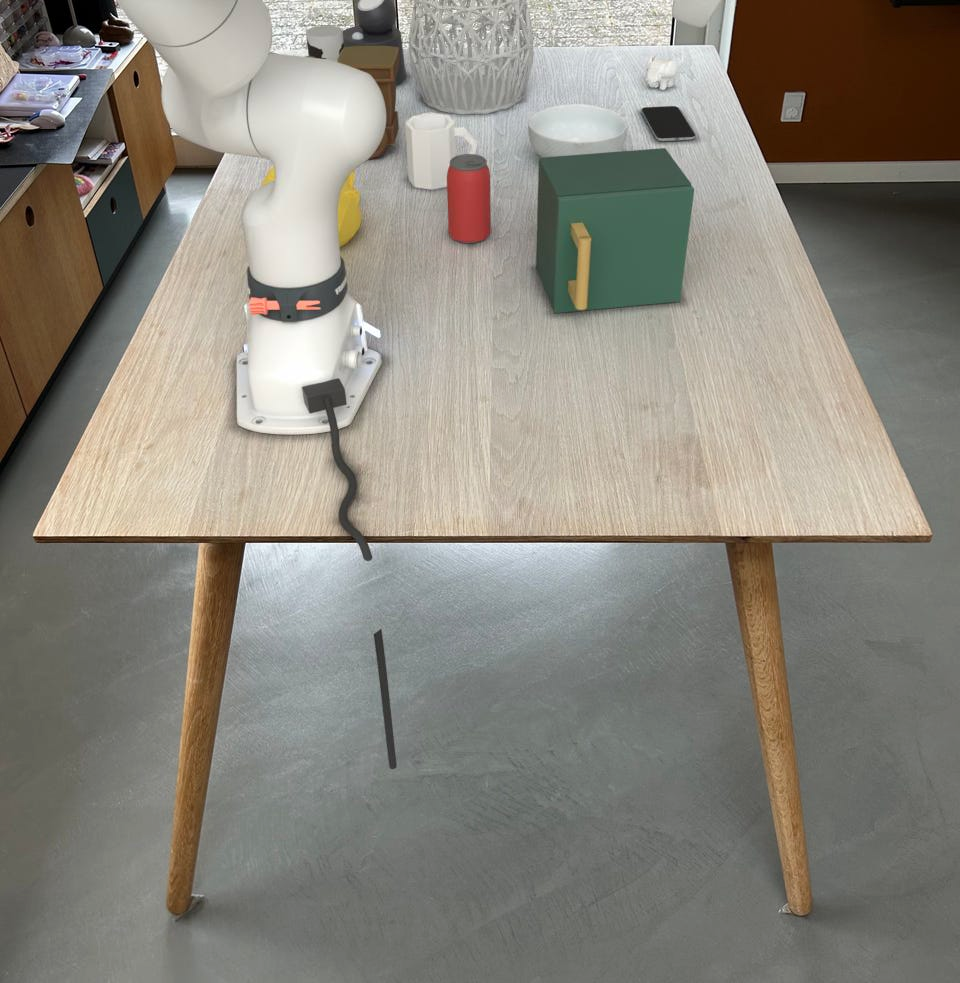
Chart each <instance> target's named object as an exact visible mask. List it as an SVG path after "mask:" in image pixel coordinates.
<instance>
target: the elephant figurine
mask: <svg viewBox="0 0 960 983" xmlns="http://www.w3.org/2000/svg"><path fill="white" fill-rule="evenodd" d="M678 68H679V67H678V64H677V62H676V61H675V60H666V59H663V58H656V54H652V55H651V56H650V57H649V59H648V60H647V61H646V64H645V70H646V71H647V74H646V77H645V81H646V82H647V83H648V86H649V87H650V88H655V89H658V88H659V90H660V91H664V90H666V89H667V88H672V87H673V85H674V82H675V79H676V76H677V74H678Z"/></svg>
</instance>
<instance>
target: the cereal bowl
mask: <svg viewBox="0 0 960 983" xmlns="http://www.w3.org/2000/svg"><path fill="white" fill-rule="evenodd" d="M527 127H528V128H527V129H528V138H529V143H530V145H531V147H532V149H533V150H534V152H535V153H536V154H537V155H538V156H539V158H542V157H555V156H568V155H581V154H594V153H607V152H620V151H622V149H623V147H624V144H625V141H626V136H627V131H628V123H627V121H626V119H625V118H624V117H623V116H622V115H621V114H620V113H618V112H616V111H615V110H614V111H613V110H612V109H609V108H607V107H603V106H598V105H594V104H586V103H585V104H584V103H566V104H558V105H553V106H548V107H546V108H542V109H539V110H538V111H537V112H535V113H533V114H532V115H531V117H530V118H529V119H528V124H527Z"/></svg>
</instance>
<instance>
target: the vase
mask: <svg viewBox="0 0 960 983" xmlns="http://www.w3.org/2000/svg"><path fill="white" fill-rule="evenodd" d="M433 1H434V3H433V2H431V1H428V0H414V2H413V7H412V13H411V19H410V26H409V35H408V56H409V62H410V63H409V65H410V69H411V72H412V75H413V78H414V81H415V85H416V87H417V90H418V91H419V93H420V95H421V96H422V97H421V98H422V101H423V102H424V103H425V104H426V105H427V107H430V108H432V109H435V110H437V111H440V112H443V113H450V114H455V115H457V114H458V115H488V114H492V113H496V112H500V111H504V110H508V109H510V108H511V107H513V106H515V105H516V104H518V103H519V102H521V101H522V97H523V93H524V91H525V89H526V87H527V84H528V82H529V80H530V76H531V71H532V68H533V64H534V54H535V52H534V34H533V24H532V20H531V16H530V11H529V7H528V0H509V1H508V0H492V1H491V0H486V1H487V4H488V5H487V4H486V3H485V2H484V0H457V1H458V3H459V6H458V5H457V3H456V2H455V1H454V0H433ZM475 5H477V6H475ZM484 10H485V11H484ZM453 11H455V12H453ZM500 11H503V12H502V13H501V14H500ZM436 12H437V15H435V14H436ZM444 12H445V13H447V14H448V15H446V16H445V17H443V15H444ZM428 14H429V15H430V17H428ZM472 14H473V15H476V16H474V17H473V18H471V17H472ZM499 15H500V16H499ZM521 16H522V17H521ZM505 17H507V20H505V19H504V18H505ZM423 18H424V21H423ZM428 18H429V20H428ZM522 18H523V19H522ZM474 23H481V24H480V26H479V27H478V28H477V29H476V30H475V29H474V27H472V25H473V24H474ZM444 24H446V25H451V27H450V28H449V29H448V30H447V31H446V28H445V27H444ZM502 24H504V25H505V26H507V27H509V28H508V30H506V29H505V28H504V26H503V25H502ZM459 26H460V27H461V28H462V29H461V30H460V31H459V32H458V33H457V27H459ZM487 27H490V28H491V29H490V30H489V32H488V33H487ZM465 38H466V43H467V56H464V44H465ZM453 39H454V40H453ZM482 39H483V40H482ZM515 39H516V40H515ZM489 41H490V44H489V45H490V46H489V49H488V43H489ZM437 43H438V49H439V53H438V52H437ZM495 43H496V44H495ZM502 43H503V46H504V50H503V52H502V53H500V47H501V45H502ZM446 45H447V47H448V51H447V47H446ZM495 45H496V47H495ZM472 47H473V48H472ZM494 48H495V49H494ZM455 49H456V50H455ZM494 50H495V54H494ZM473 51H474V54H475V57H474V56H473ZM522 55H523V57H522ZM500 58H502V61H501V65H500V66H501V67H500V68H499V63H500ZM424 60H425V62H424ZM439 60H440V63H441V65H440V63H439ZM493 61H494V62H493ZM464 62H467V63H468V70H469V71H468V70H467V69H466V68H465V67H464ZM474 63H476V64H475V65H474ZM483 66H484V67H485V68H484V74H483V69H482V67H483ZM454 67H455V68H454Z"/></svg>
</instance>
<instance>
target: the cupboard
mask: <svg viewBox="0 0 960 983" xmlns="http://www.w3.org/2000/svg"><path fill="white" fill-rule="evenodd" d="M537 170H538V172H537V211H536V212H537V215H536V248H535V249H536V250H535V252H536V253H535V254H536V255H535V260H536V261H535V270H536V272H537V274H538V277H539V279H540V282H541V284H542V286H543V288H544V291H545V293H546V294H545V295H546V296H547V298H548V301H549V304H550V306H551V309H553V305H554V279H555V252H556V226H557V200H558V197H563V196H575V195H588V194H600V193H612V192H624V191H637V190H649V189H661V188H674V187H686V186H692V183H691V181H690V180H689V178H688V177H687V175H686V174H685V172H684V171H682V168H680V166H679V164H678V163H677V162H676V161H675V159H674V158H673V157H672V155H671V154H670V153H669V151H668V150H667V149H666V148H665V147H662V148H661V147H659V148H648V149H647V148H645V149H635V150H620V151H619V152H607V153H594V154H581V155H568V156H555V157H539V158H538V169H537Z"/></svg>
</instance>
